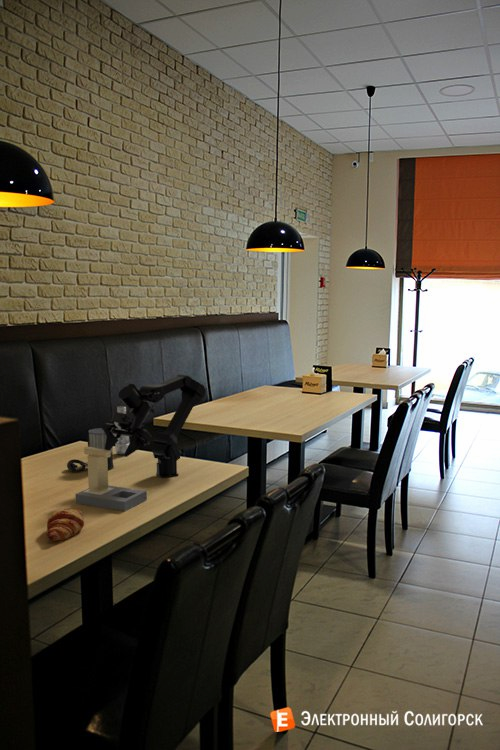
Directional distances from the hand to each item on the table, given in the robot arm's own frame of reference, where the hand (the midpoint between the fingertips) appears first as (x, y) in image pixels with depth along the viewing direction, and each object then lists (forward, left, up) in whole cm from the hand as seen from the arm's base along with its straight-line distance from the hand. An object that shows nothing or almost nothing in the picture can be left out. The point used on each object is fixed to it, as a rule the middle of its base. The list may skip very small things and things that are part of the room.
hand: (115, 454), depth 215 cm
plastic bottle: (-18, -50, -14) cm, 55 cm away
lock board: (+4, +8, -13) cm, 16 cm away
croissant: (+22, +27, -14) cm, 38 cm away
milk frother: (0, -34, -14) cm, 37 cm away
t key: (+7, +3, -10) cm, 13 cm away
